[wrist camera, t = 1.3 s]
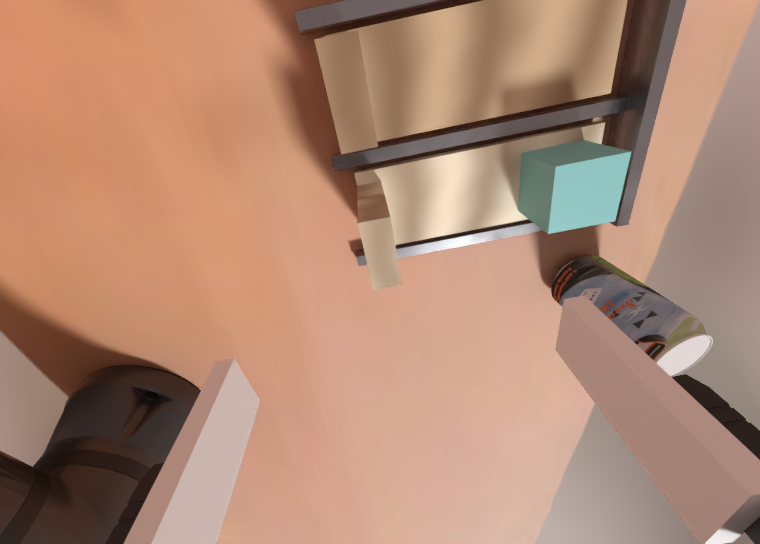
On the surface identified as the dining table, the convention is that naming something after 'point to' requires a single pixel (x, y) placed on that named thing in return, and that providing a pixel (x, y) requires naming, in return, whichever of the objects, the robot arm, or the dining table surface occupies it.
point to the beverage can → (636, 312)
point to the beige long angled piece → (446, 195)
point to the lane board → (629, 108)
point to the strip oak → (467, 65)
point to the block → (572, 185)
